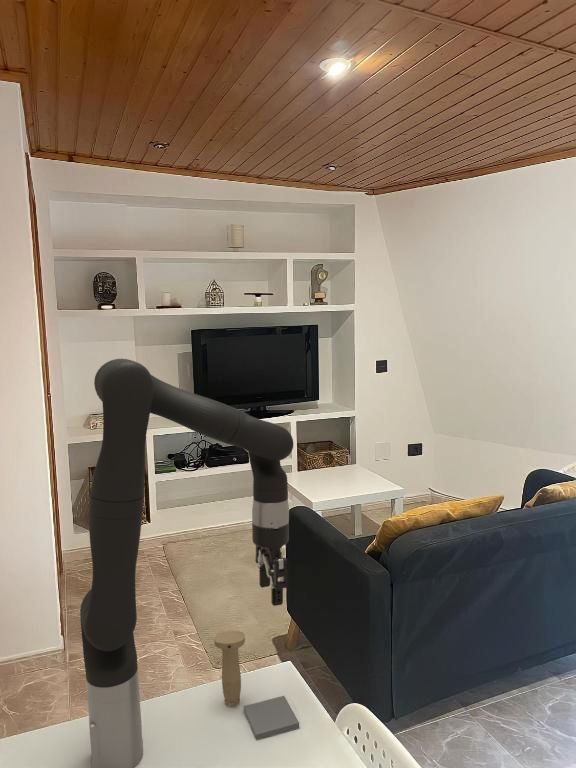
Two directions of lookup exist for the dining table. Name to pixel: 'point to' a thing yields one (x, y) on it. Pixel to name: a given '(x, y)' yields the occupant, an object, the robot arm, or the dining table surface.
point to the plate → (270, 717)
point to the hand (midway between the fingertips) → (270, 595)
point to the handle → (230, 664)
